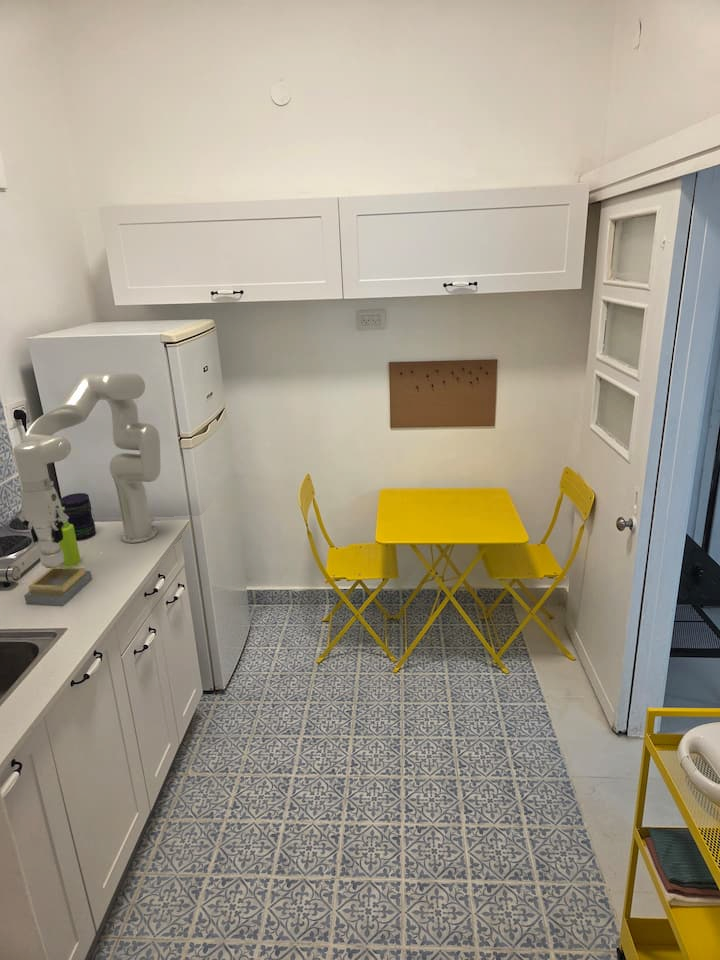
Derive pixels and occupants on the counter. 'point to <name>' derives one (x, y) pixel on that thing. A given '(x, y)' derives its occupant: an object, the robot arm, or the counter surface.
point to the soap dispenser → (69, 545)
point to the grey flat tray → (57, 586)
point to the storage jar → (79, 515)
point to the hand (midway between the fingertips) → (48, 540)
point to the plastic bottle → (48, 544)
